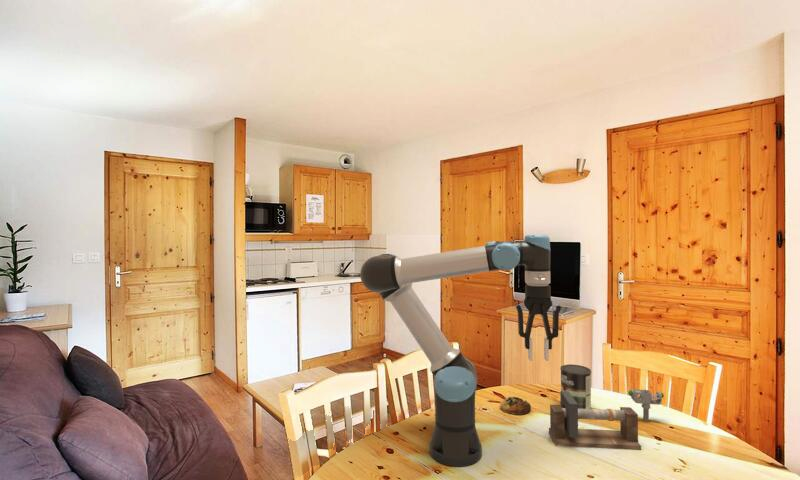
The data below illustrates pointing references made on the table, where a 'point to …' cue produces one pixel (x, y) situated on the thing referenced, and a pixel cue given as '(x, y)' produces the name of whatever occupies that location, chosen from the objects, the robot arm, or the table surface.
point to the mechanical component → (645, 400)
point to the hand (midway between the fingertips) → (538, 359)
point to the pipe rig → (597, 438)
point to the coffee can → (577, 384)
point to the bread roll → (515, 406)
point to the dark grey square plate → (570, 413)
